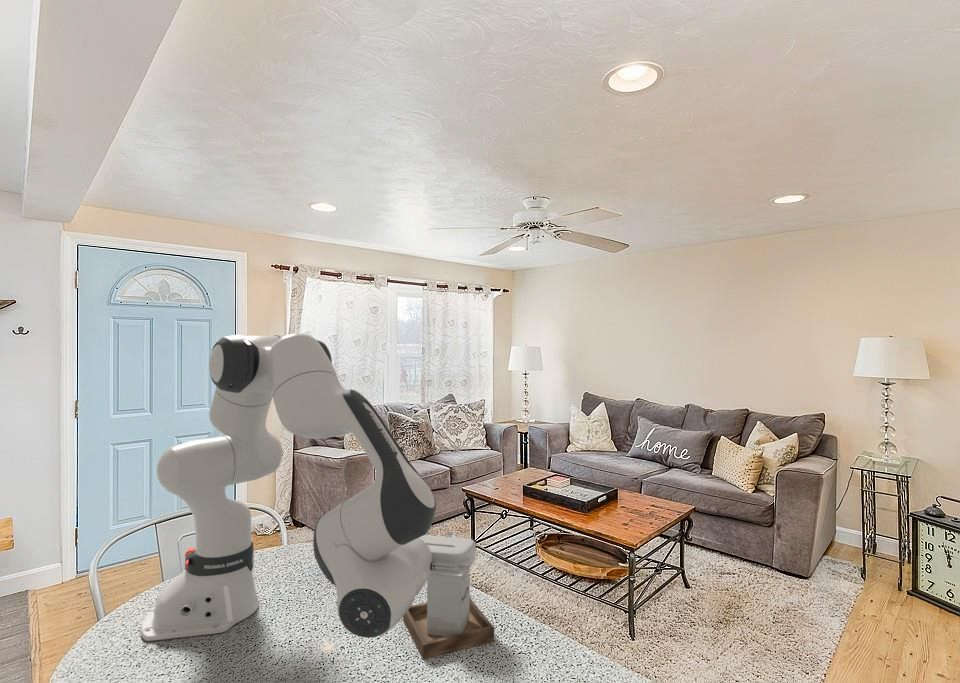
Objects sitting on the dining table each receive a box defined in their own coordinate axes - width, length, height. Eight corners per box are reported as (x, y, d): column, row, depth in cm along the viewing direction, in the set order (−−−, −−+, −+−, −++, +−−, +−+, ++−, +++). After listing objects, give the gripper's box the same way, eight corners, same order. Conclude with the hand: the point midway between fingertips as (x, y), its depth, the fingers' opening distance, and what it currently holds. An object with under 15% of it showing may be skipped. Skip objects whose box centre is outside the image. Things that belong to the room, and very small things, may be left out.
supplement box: (461, 640, 101) (461, 576, 101) (425, 635, 103) (425, 572, 103) (470, 620, 108) (470, 560, 108) (437, 615, 110) (437, 557, 110)
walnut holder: (423, 659, 96) (423, 645, 96) (402, 620, 109) (402, 607, 109) (494, 641, 102) (494, 627, 102) (466, 606, 115) (466, 593, 115)
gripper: (468, 550, 79) (483, 522, 93) (345, 539, 83) (377, 513, 97) (467, 591, 79) (482, 556, 93) (344, 578, 83) (376, 546, 96)
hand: (428, 534), depth 95 cm, fingers open, 8 cm apart
